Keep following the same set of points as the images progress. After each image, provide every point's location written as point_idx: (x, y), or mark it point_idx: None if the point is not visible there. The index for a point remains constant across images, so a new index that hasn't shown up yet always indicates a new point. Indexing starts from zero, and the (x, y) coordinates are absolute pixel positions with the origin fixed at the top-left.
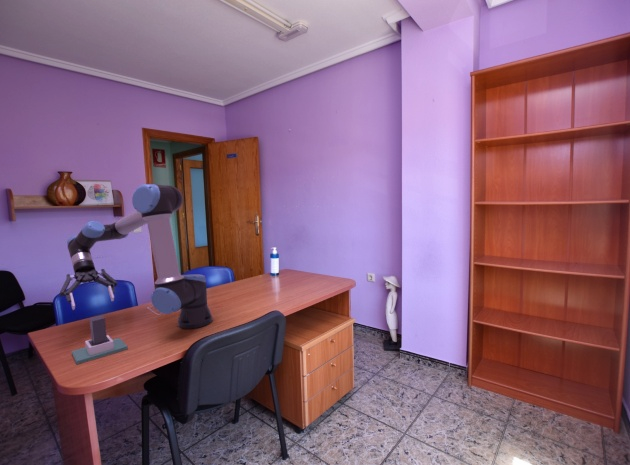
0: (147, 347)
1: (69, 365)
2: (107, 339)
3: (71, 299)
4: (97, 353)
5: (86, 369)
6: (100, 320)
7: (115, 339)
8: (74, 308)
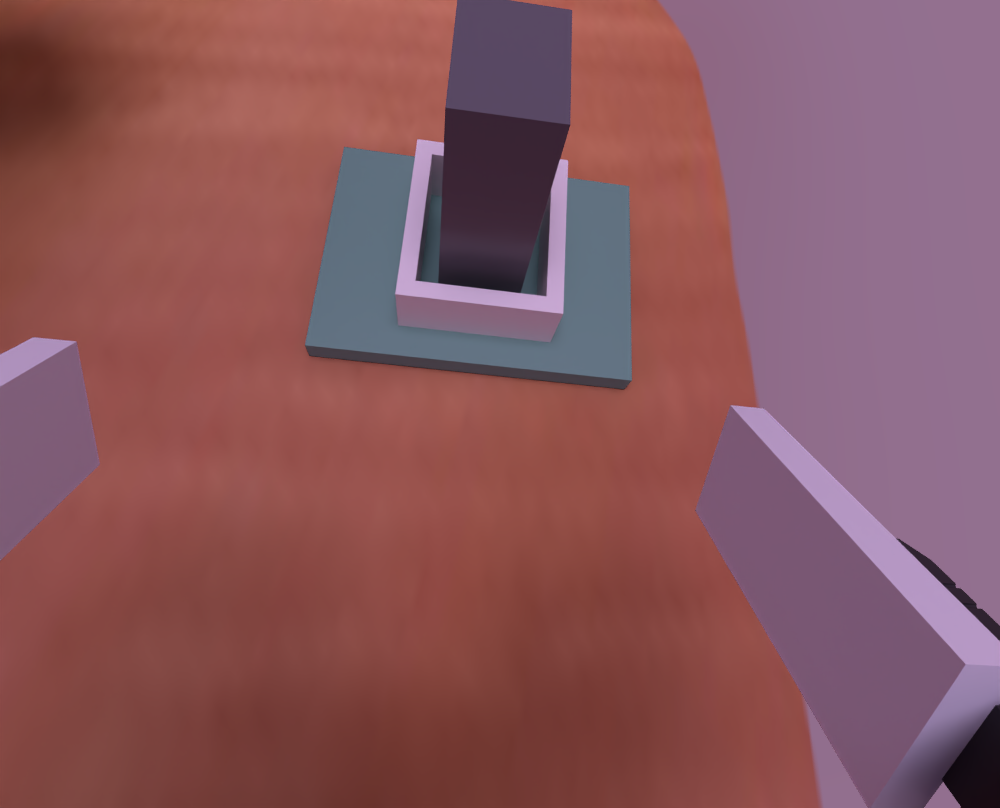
0: (255, 91)
1: (654, 223)
2: (420, 256)
3: (850, 494)
4: None
5: (593, 107)
6: (498, 9)
7: (342, 337)
8: (710, 487)
